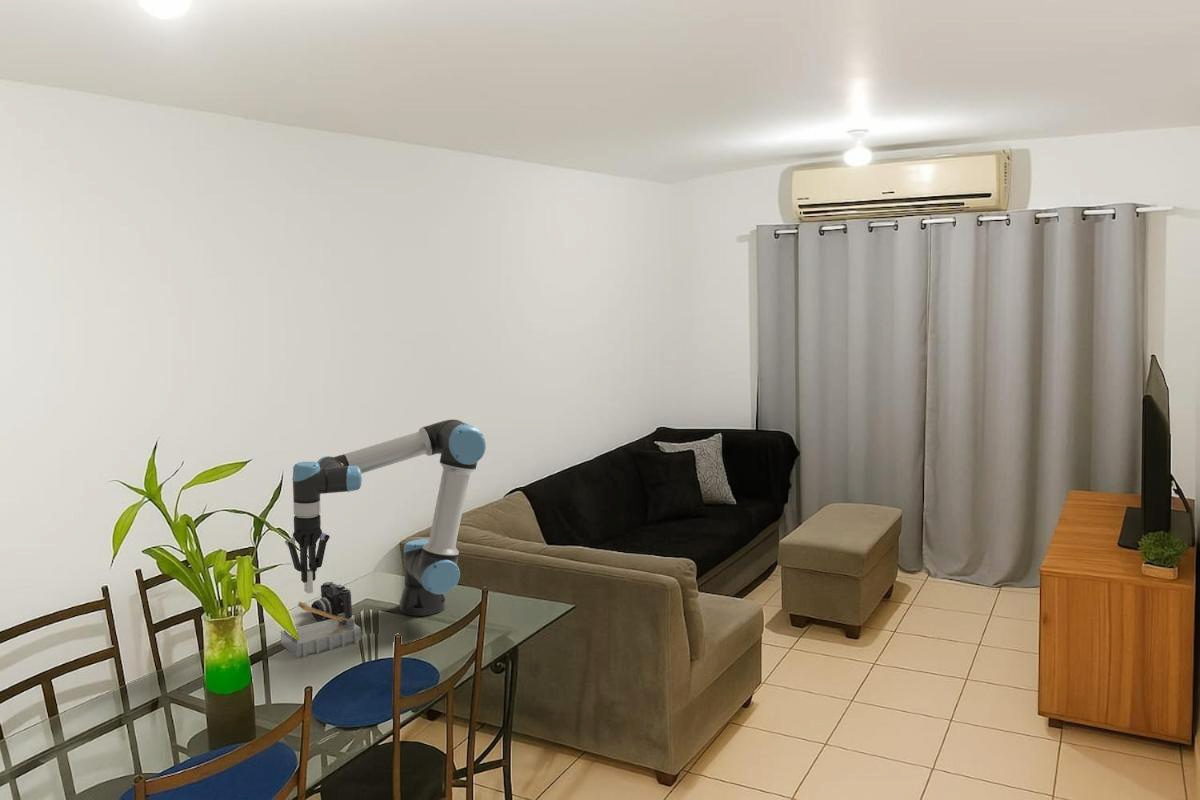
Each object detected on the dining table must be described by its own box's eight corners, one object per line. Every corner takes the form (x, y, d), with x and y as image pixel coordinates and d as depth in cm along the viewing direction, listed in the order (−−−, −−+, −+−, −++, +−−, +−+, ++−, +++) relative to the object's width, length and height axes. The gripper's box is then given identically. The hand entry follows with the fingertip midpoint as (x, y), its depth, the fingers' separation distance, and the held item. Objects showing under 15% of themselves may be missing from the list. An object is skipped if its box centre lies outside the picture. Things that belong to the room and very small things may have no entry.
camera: (302, 615, 302) (301, 586, 301) (331, 606, 310) (330, 577, 309) (326, 627, 293) (325, 597, 291) (356, 617, 301) (355, 588, 300)
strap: (343, 620, 288) (345, 616, 288) (350, 625, 284) (352, 621, 284) (297, 605, 278) (299, 601, 278) (304, 610, 274) (306, 606, 274)
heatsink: (342, 627, 293) (341, 607, 292) (362, 641, 282) (361, 620, 281) (279, 643, 280) (279, 622, 279) (298, 658, 270) (297, 637, 269)
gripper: (322, 508, 280) (324, 583, 284) (280, 515, 272) (282, 592, 275) (333, 514, 275) (334, 590, 278) (290, 521, 266) (292, 600, 270)
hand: (308, 591), depth 277 cm, fingers closed
